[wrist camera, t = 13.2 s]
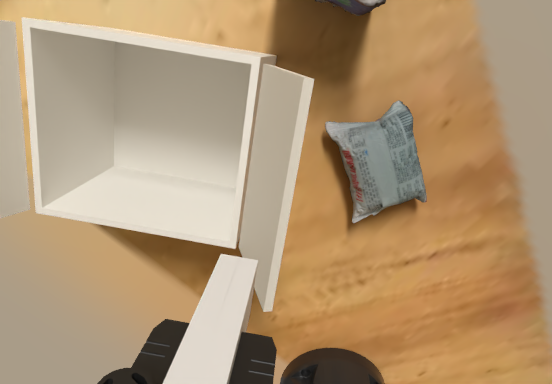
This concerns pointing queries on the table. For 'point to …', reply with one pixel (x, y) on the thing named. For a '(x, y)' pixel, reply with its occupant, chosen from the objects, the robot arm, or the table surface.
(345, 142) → the packaged food
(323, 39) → the table surface
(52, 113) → the carton
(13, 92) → the flap left
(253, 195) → the flap right
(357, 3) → the purple green package
